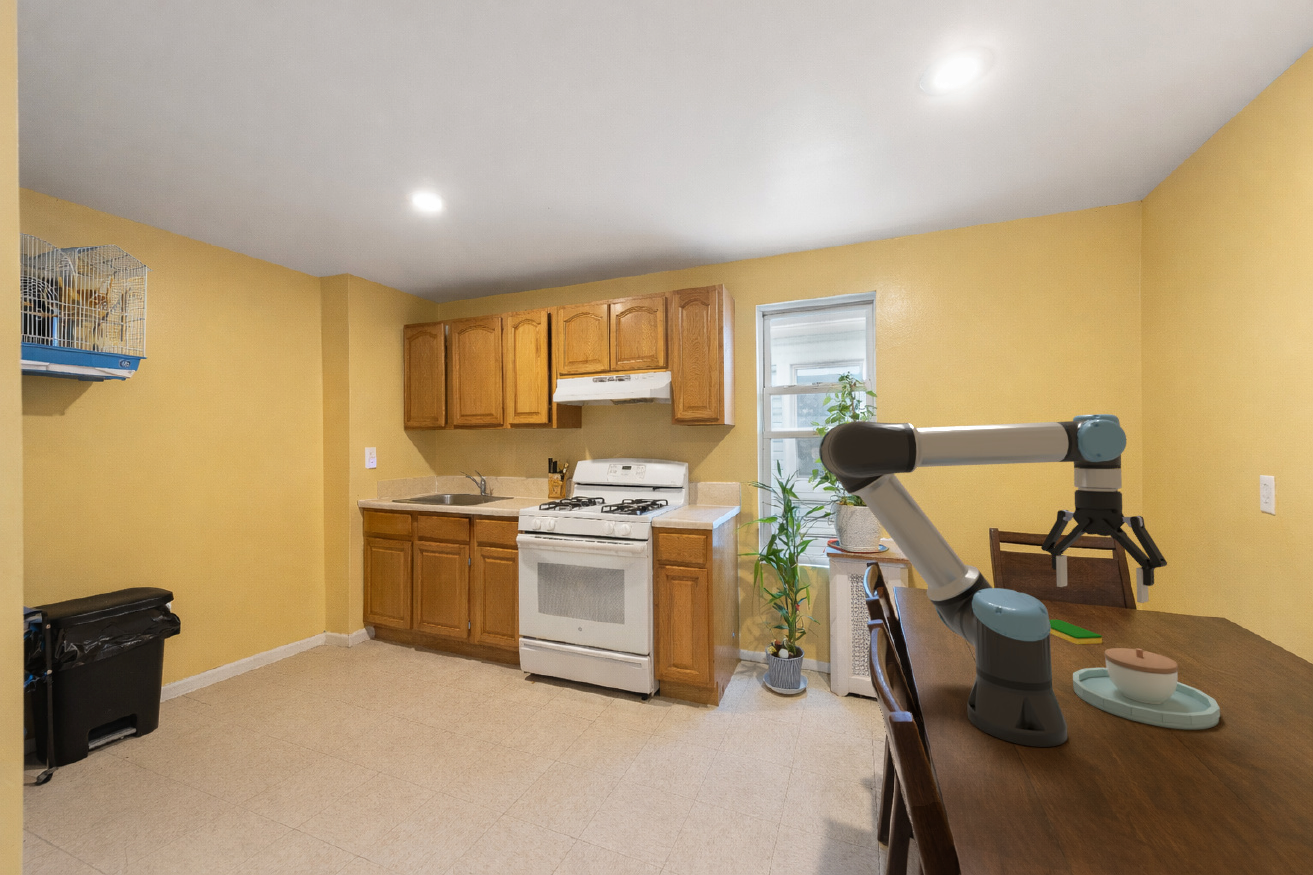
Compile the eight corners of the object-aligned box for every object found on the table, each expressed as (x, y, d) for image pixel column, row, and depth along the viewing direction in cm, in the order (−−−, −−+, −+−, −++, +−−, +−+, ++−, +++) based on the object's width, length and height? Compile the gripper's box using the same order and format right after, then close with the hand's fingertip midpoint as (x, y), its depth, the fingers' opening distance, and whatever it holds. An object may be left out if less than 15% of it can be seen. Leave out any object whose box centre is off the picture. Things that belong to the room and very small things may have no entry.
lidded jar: (1149, 685, 108) (1146, 639, 109) (1196, 710, 98) (1193, 659, 98) (1093, 684, 110) (1090, 639, 110) (1134, 709, 99) (1131, 659, 99)
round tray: (1194, 741, 90) (1193, 726, 90) (1053, 694, 108) (1053, 681, 108) (1236, 710, 100) (1235, 696, 100) (1100, 671, 118) (1100, 660, 118)
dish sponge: (1059, 627, 149) (1058, 619, 149) (1103, 644, 135) (1102, 635, 135) (1035, 628, 149) (1034, 619, 149) (1077, 646, 135) (1076, 636, 135)
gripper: (1187, 492, 99) (1191, 606, 98) (1040, 485, 121) (1042, 578, 120) (1170, 494, 95) (1173, 612, 95) (1022, 486, 117) (1023, 582, 117)
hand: (1100, 593), depth 107 cm, fingers open, 13 cm apart
